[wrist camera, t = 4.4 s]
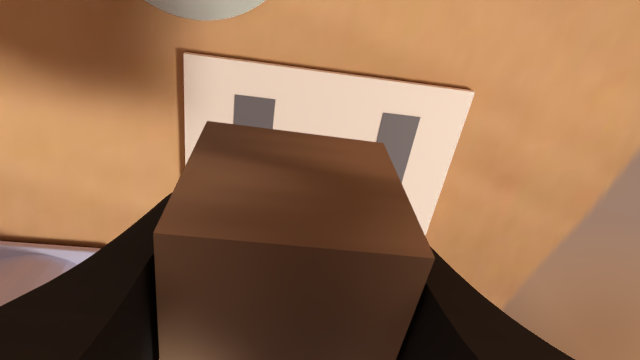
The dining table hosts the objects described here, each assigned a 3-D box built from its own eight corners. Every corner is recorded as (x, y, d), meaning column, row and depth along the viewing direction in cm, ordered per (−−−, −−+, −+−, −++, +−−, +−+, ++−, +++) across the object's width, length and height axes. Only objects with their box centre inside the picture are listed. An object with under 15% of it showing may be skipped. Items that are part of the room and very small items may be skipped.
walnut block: (203, 260, 14) (161, 407, 9) (207, 120, 11) (152, 233, 7) (349, 272, 14) (374, 415, 10) (383, 143, 12) (435, 258, 8)
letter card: (188, 265, 23) (186, 269, 23) (185, 52, 17) (183, 53, 17) (407, 280, 25) (408, 284, 25) (472, 90, 19) (475, 92, 19)
